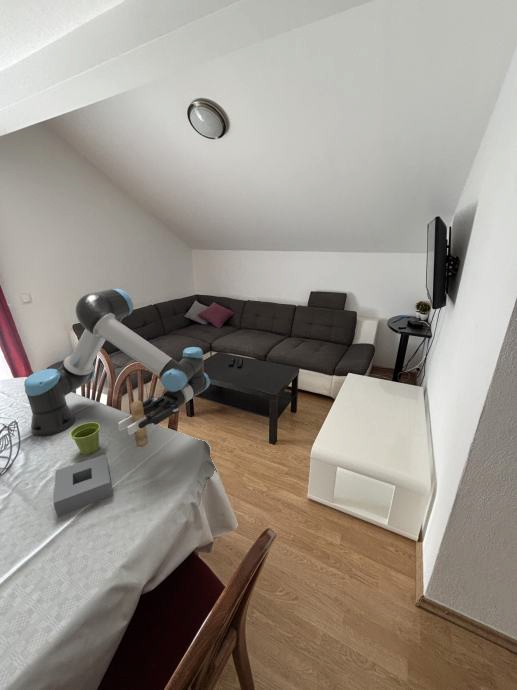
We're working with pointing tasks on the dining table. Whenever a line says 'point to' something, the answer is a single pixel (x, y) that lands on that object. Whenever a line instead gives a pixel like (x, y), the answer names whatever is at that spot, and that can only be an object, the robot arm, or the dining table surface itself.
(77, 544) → the dining table surface
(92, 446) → the plant pot
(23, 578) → the dining table surface
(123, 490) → the dining table surface
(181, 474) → the dining table surface
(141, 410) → the oak dowel
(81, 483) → the socket block
